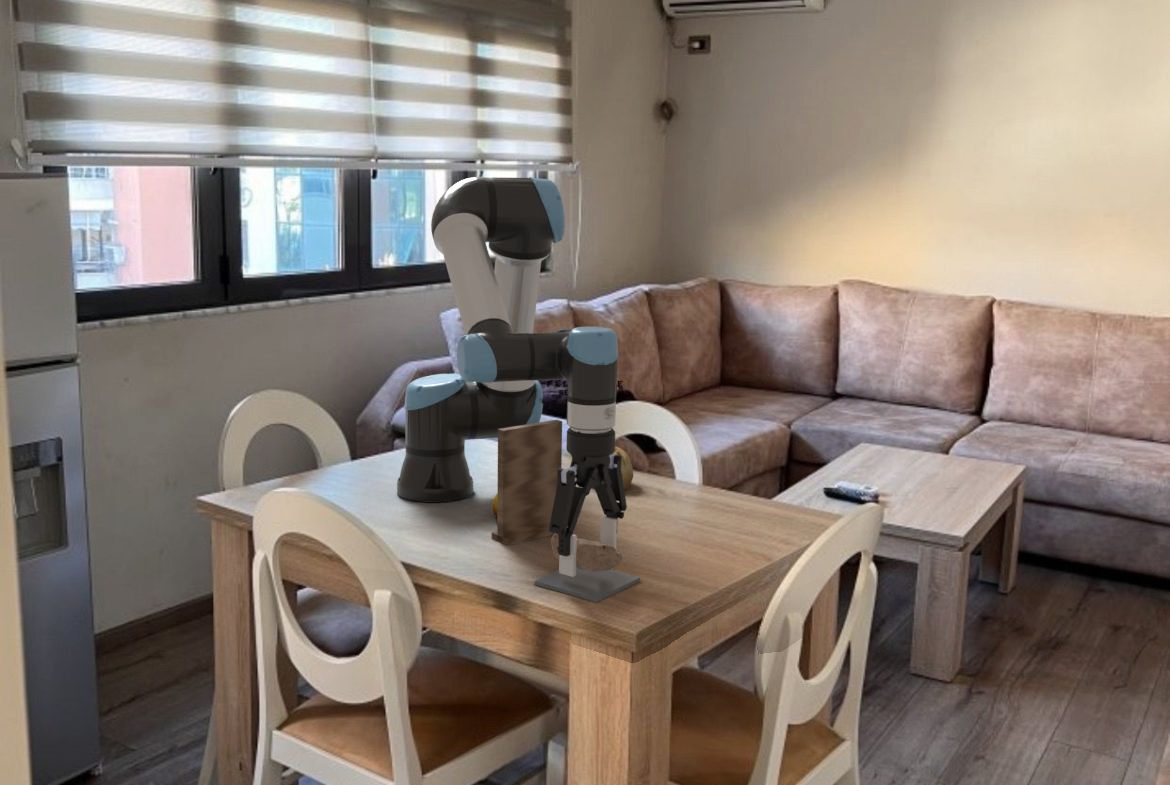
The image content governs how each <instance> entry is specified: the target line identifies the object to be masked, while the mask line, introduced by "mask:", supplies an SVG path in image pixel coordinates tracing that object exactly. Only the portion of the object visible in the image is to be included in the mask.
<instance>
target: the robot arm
mask: <svg viewBox="0 0 1170 785" xmlns="http://www.w3.org/2000/svg"><path fill="white" fill-rule="evenodd" d="M430 222H431V226H430V230H431V236H432V239H433V243H434V246H435V248H436V249H437V251H438V252H440V253H441V254H442V255H443V257H444V262H445V267H446V269H447V273H448V278H449V279H450V281H449V282H450V284H451V288H452V290H453V294H454V298H455V302H456V306H457V309H458V313H459V317H460V321H461V324H462V328H463V331H464V335H462V336H461V337H460V338H459V339H458V341H457V342H458V343H457V347H456V348H457V349H456V350H457V351H456V361H457V369H458V373H437V374H431V375H428V376H427V375H425V376H422V377H419V378H417V379H414V380H413V381H411V382H410V383H409V384H407V387H406V388H405V396H404V397H405V398H404V406H403V408H404V410H405V411H404V413H405V418H404V419H405V420H404V422H405V455H404V460H403V462H402V466H401V468H400V475H399V477H398V478H397V482H396V494H397V495H398V496H399V497H401V498H402V499H405V500H409V501H414V502H425V503H444V502H446V503H447V502H453V501H459V500H462V499H465V498H466V499H467V498H468V497H469V496H472V495H473V494H474V480H473V477H472V475H471V474H470V468H469V464H468V462H467V461H468V460H467V458H466V453H465V452H466V451H465V449H466V448H465V443H466V441H469V440H486V439H487V440H488V439H498V429H501V428H508V427H514V426H520V425H526V424H533V423H539V422H540V421H541V418H542V414H543V407H544V403H543V398H544V395H543V387H542V385H541V383H540V382H539V381H554V380H567V400H566V401H567V403H566V405H567V406H566V425H567V426H568V427H569V428H568V429H567V430H566V451H567V453H568V454H569V455H570V456H571V461H570V466H569V467H567V468H566V469H565V468H562V467H561V468H559V469H558V472H557V478H558V484H557V489H556V495H555V500H554V505H553V510H552V515H551V521H550V526H549V531H550V532H552V533H556V534H558V536H559V543H558V545H559V546H558V548H559V549H558V553H559V559H558V560H559V561H558V565H559V566H558V570H559V573H561V574H564V575H568V576H571V577H574V576H576V549H577V538H578V535H577V534H574V532H575V528H576V526H577V523H578V521H579V520H578V519H579V517H580V515H581V511H582V508H583V505H584V502H585V499H586V497H587V496H589V494H590V492H591V490H592V489H593V488H594V491H595V493H596V496H597V498H598V501H599V503H600V507H601V509H602V512H603V514H604V515H602V516H600V522H599V523H600V526H599V527H600V528H599V529H600V530H599V531H600V532H599V542H600V543H603V544H608V545H612V546H613V547H614V548H615V549H616V550H617V537H618V536H617V535H618V524H619V523H618V522H619V521H618V519H620V520H623V518H624V517H625V512H626V511H627V508H628V506H627V499H626V492H625V489H624V485H623V479H622V472H621V461H622V457H621V456H620V455H615V454H613V453H614V451H615V446H616V430H615V429H614V427H615V426H616V411H617V410H616V407H617V406H616V405H617V404H616V403H617V402H616V401H617V386H618V385H617V384H618V383H617V382H618V358H619V354H620V353H619V348H618V347H619V346H618V345H619V344H618V334H617V332H616V331H615V330H614V329H612V328H609V327H603V326H579V327H574V328H571V329H568V328H560V329H556V330H554V331H553V332H534V327H535V318H536V310H537V302H538V294H539V285H540V278H541V277H540V274H541V267H542V266H541V265H542V261H544V260H545V259H547V258H548V257H549V256H550V254H551V250H552V244H553V243H554V244H557V243H560V242H561V241H562V240H563V237H564V235H565V225H566V224H565V210H564V204H563V200H562V196H561V192H560V190H559V188H558V186H557V185H556V184H555V182H553V180H551V179H548V178H537V177H536V178H535V177H533V176H528V177H496V176H495V177H489V176H488V177H487V176H486V177H485V176H484V177H483V176H471V177H468V178H465V179H464V178H463V179H462V180H460V181H458V182H456V183H454V184H453V185H452V186H450V187H449V188H448V189H446V191H445V192H444V193H443V194H442V196H441V197H440V198H439V199H438V201H437V203H436V205H435V207H434V210H433V213H432V216H431V221H430ZM487 243H488V247H487ZM488 249H489V250H490V251H491V253H492V254H493V255H494V256H495V261H494V263H495V264H494V266H493V263H492V260H491V256H490V254H489V251H488Z"/></svg>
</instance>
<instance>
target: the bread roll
mask: <svg viewBox="0 0 1170 785" xmlns="http://www.w3.org/2000/svg"><path fill="white" fill-rule="evenodd" d="M613 454H615V455H620V456H621V457H622V461H621V472H622V479H623V485H624V490H626V489H627V488H629V487H630V485H631V483H632V482H633V478H634V468H633V465H632V460H631V458H630V455H628V453H627V452H626V451H625V450H624V449H622V448H621V447H619V446H616V445H615V451H614V453H613Z"/></svg>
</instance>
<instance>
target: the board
mask: <svg viewBox="0 0 1170 785" xmlns="http://www.w3.org/2000/svg"><path fill="white" fill-rule="evenodd" d="M562 451H563V421H562V420H559V419H553V420H552V419H551V420H546V421H541V422H539V423H533V424H526V425H520V426H514V427H508V428H501V429H498V438H497V493H498V494H497V493H496V494H497V522H496V524H497V526H496V530H495V531H493V532H491V539H493V540H496V541H498V542H500V543H502V544H505V545H506V546H511V545H515V544H520V543H524V542H529V541H532V540H536V539H541V538H545V537H548V536H553V535H554V533H552V532H550V531H549V526H550V521H551V515H552V510H553V505H554V500H555V495H556V489H557V484H558V478H557V472H558V469H559V468H562V464H563V463H562V461H563V460H562V456H563V455H562Z"/></svg>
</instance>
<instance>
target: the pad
mask: <svg viewBox="0 0 1170 785" xmlns="http://www.w3.org/2000/svg"><path fill="white" fill-rule="evenodd" d="M641 578H642V577H641V576H636V575H633V574H630V573H626V572H621V571H618V570H615V569H610V570H607V571H601V570H600V571H596V572H590V571H585V570H582V569H578V568H576V576H574V577H571V576H568V575H564V574H561V573H559V569H558V570H556V571H554V572H552V573H550V574H547V575H544V576H542V577H540V578H538V579H536V580H534V583H533V584H534V586H539V587H542V588H546V589H549V590H553V591H556V592H559V593H563V594H566V595H571V596H573V597H577V598H580V599H585V600H587V601H591V602H594V603H598V602H600V601H602V600H604V599H606V598H607V597H610V596H612V595H615V594H616V593H618V592H620V591H622V590H625V589H626V588H629V587H631V586H633V585H635V584H637V583H639V582H641Z"/></svg>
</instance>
